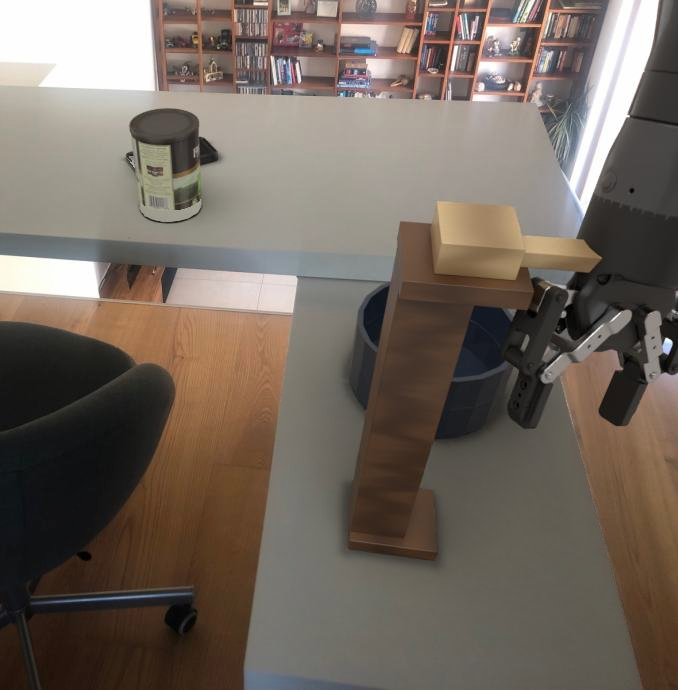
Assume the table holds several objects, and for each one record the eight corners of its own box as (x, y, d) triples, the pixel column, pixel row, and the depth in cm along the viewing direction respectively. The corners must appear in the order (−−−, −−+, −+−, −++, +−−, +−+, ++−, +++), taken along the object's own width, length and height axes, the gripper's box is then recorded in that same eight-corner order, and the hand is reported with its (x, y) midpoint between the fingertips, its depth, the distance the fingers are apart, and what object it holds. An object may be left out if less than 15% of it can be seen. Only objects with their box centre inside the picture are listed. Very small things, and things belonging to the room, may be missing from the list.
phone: (220, 153, 121) (138, 172, 117) (220, 159, 122) (139, 178, 117) (202, 135, 126) (124, 152, 122) (202, 141, 127) (124, 158, 123)
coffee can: (198, 186, 115) (195, 104, 106) (206, 220, 108) (203, 135, 98) (136, 192, 114) (127, 110, 105) (140, 226, 107) (130, 141, 97)
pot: (490, 340, 87) (509, 283, 80) (509, 447, 74) (533, 389, 68) (351, 327, 89) (359, 270, 83) (346, 428, 76) (356, 371, 70)
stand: (430, 498, 70) (518, 229, 48) (434, 561, 65) (534, 292, 43) (350, 488, 71) (400, 220, 49) (348, 549, 66) (402, 280, 44)
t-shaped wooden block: (434, 274, 44) (441, 242, 43) (430, 230, 48) (436, 200, 46) (668, 293, 42) (685, 261, 41) (645, 247, 46) (660, 216, 44)
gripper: (622, 207, 38) (524, 455, 44) (793, 226, 43) (682, 447, 49) (529, 177, 44) (455, 397, 51) (687, 196, 49) (601, 395, 56)
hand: (567, 422), depth 50 cm, fingers open, 8 cm apart
